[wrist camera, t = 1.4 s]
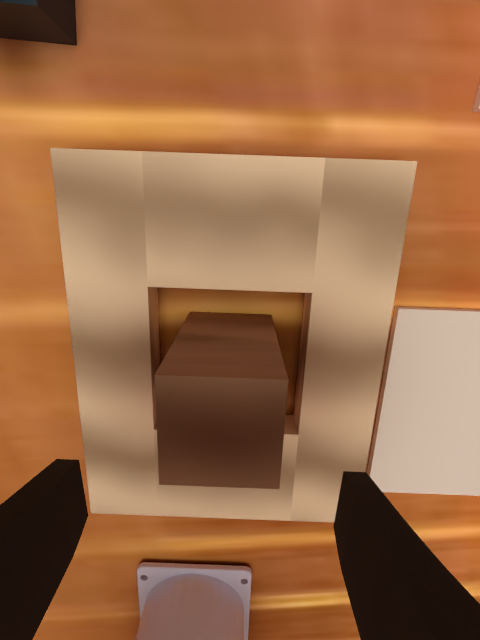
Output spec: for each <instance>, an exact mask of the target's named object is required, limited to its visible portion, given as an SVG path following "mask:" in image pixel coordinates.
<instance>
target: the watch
mask: <svg viewBox="0 0 480 640" xmlns="http://www.w3.org/2000/svg"><path fill="white" fill-rule="evenodd" d="M0 38H7V39H17V40H27V41H38V42H48V43H58V44H68V45H77V42H76V18H75V0H0Z"/></svg>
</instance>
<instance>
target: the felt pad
mask: <svg viewBox="0 0 480 640" xmlns="http://www.w3.org/2000/svg"><path fill="white" fill-rule="evenodd" d="M367 474H368V475H369V476H370V477H371V479H372V480H373V481H374V482H375V484H376V485H377V486H378V487H379V489H380V490H381V491H382V492H396V493H423V494H449V495H476V496H480V309H454V308H427V307H400V306H395V309H394V314H393V320H392V326H391V332H390V338H389V344H388V350H387V356H386V362H385V368H384V374H383V380H382V385H381V391H380V397H379V403H378V409H377V415H376V421H375V427H374V433H373V439H372V445H371V451H370V456H369V462H368V468H367Z"/></svg>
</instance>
